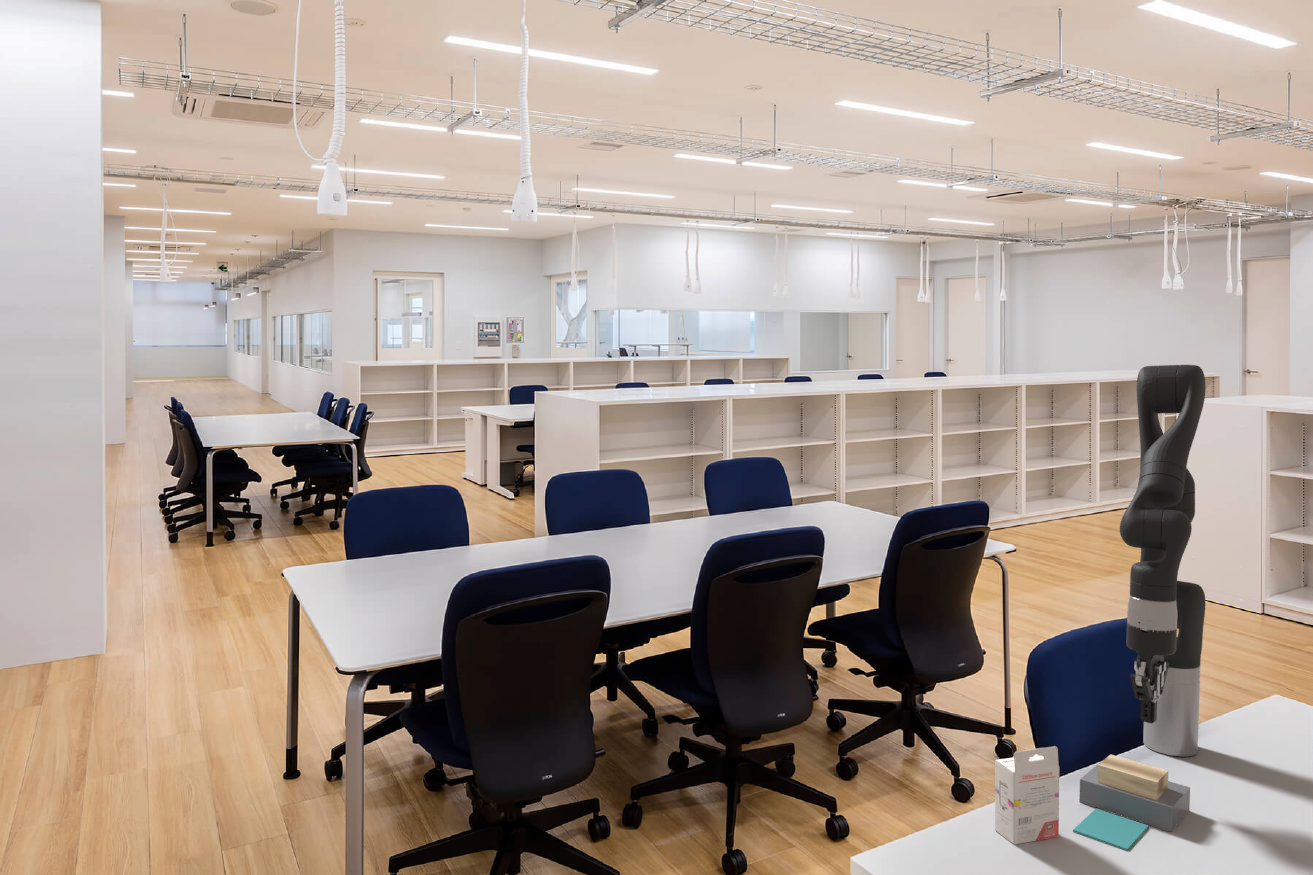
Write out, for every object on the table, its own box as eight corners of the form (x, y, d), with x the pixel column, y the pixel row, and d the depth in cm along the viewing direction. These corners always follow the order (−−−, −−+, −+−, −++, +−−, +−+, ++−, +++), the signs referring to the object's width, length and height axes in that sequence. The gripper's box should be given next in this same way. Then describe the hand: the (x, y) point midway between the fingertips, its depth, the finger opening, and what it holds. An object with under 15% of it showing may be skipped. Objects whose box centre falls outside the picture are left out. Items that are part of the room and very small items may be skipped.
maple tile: (1110, 771, 150) (1110, 754, 150) (1167, 788, 143) (1168, 770, 143) (1097, 781, 146) (1098, 764, 145) (1156, 800, 139) (1157, 782, 139)
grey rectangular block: (1100, 783, 154) (1101, 761, 154) (1189, 810, 144) (1190, 787, 144) (1079, 801, 147) (1079, 779, 147) (1171, 831, 137) (1171, 807, 137)
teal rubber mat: (1095, 809, 144) (1095, 808, 144) (1148, 827, 138) (1148, 825, 138) (1072, 831, 137) (1072, 829, 137) (1127, 850, 131) (1127, 848, 131)
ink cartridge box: (1037, 822, 140) (1039, 734, 139) (1059, 837, 135) (1061, 746, 135) (992, 829, 138) (994, 740, 137) (1013, 845, 133) (1015, 753, 132)
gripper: (1140, 612, 156) (1137, 706, 157) (1115, 625, 147) (1111, 724, 148) (1187, 620, 150) (1184, 717, 151) (1163, 634, 141) (1160, 737, 142)
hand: (1148, 721), depth 149 cm, fingers closed
